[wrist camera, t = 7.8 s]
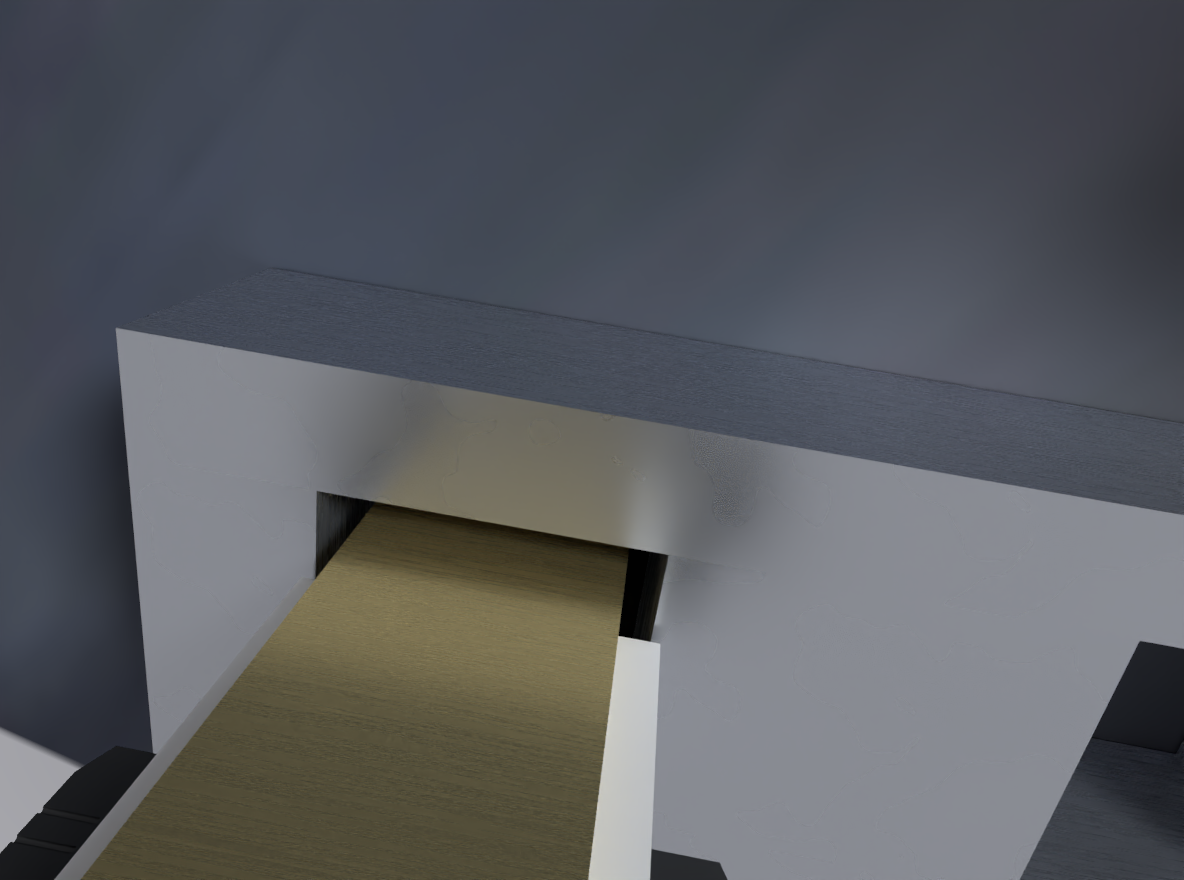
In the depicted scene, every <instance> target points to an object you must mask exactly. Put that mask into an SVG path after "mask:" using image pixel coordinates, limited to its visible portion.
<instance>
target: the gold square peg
mask: <svg viewBox="0 0 1184 880" xmlns="http://www.w3.org/2000/svg"><path fill="white" fill-rule="evenodd" d="M628 554H629V548H628V547H622V546H617V545H611V544H606V543H600V542H595V541H589V540H584V539H578V538H573V537H567V536H562V535H556V534H551V533H545V532H540V531H534V530H529V529H523V528H518V527H512V526H507V525H501V524H496V523H490V522H485V521H479V520H474V519H468V518H463V517H457V516H452V515H446V514H441V513H435V512H430V511H424V510H419V509H413V508H408V507H402V506H397V505H391V504H386V503H380V502H375V504H374V505H373V506H372V508H371V509H370V510H369V511H368V513H367V514H366V515H365V517H364V518H363V519H362V520H361V522H360V523H359V524H358V526H357V527H356V528H355V529H354V531H353V532H352V533H351V534H350V536H349V537H348V538H347V540H346V541H345V542H344V543H343V545H342V546H341V547H340V549H339V550H338V551H337V552H336V554H335V555H334V556H333V557H332V559H331V560H330V561H329V563H328V564H327V565H326V566H325V568H324V569H323V570H322V572H321V573H320V574H319V575H318V577H317V578H316V579H315V580H314V582H313V583H312V584H311V586H310V587H309V588H308V589H307V591H306V592H305V593H304V595H303V596H302V597H301V598H300V600H299V601H298V602H297V603H296V605H295V606H294V607H293V609H292V610H291V611H290V612H289V614H288V615H287V616H286V618H285V619H284V620H283V621H282V623H281V624H280V625H279V627H278V628H277V629H276V630H275V632H274V633H273V634H272V635H271V637H270V638H269V639H268V641H267V642H266V643H265V644H264V646H263V647H262V648H261V650H260V651H259V652H258V653H257V655H256V656H255V657H254V658H253V660H252V661H251V662H250V664H249V665H248V666H247V667H246V669H245V670H244V671H243V673H242V674H241V675H240V676H239V678H238V679H237V680H236V681H235V683H234V684H233V685H232V687H231V688H230V689H229V690H228V692H227V693H226V694H225V696H224V697H223V698H222V699H221V701H220V702H219V703H218V704H217V706H216V707H215V708H214V710H213V711H212V712H211V713H210V715H209V716H208V717H207V719H206V720H205V721H204V722H203V724H202V725H201V726H200V727H199V729H198V730H197V731H196V733H195V734H194V735H193V736H192V738H191V739H190V740H189V742H188V743H187V744H186V745H185V747H184V748H183V749H182V751H181V752H180V753H179V754H178V756H177V757H176V758H175V759H174V761H173V762H172V763H171V765H170V766H169V767H168V768H167V770H166V771H165V772H164V774H163V775H162V776H161V777H160V779H159V780H158V781H157V782H156V784H155V785H154V786H153V788H152V789H151V790H150V791H149V793H148V794H147V795H146V797H145V798H144V799H143V800H142V802H141V803H140V804H139V805H138V807H137V808H136V809H135V811H134V812H133V813H132V814H131V816H130V817H129V818H128V820H127V821H126V822H125V823H124V825H123V826H122V827H121V828H120V830H119V831H118V832H117V834H116V835H115V836H114V837H113V839H112V840H111V841H110V843H109V844H108V845H107V846H106V848H105V849H104V850H103V851H102V853H101V854H100V855H99V857H98V858H97V859H96V860H95V862H94V863H93V864H92V866H91V867H90V868H89V869H88V871H87V872H86V873H85V875H84V876H83V877H82V878H81V880H588V877H589V869H590V861H591V852H592V844H593V836H594V828H595V820H596V812H597V804H598V796H599V788H600V780H601V772H602V764H603V756H604V748H605V740H606V732H607V724H608V715H609V707H610V699H611V691H612V683H613V675H614V667H615V659H616V651H617V643H618V635H619V627H620V619H621V611H622V603H623V595H624V587H625V579H626V570H627V562H628Z"/></svg>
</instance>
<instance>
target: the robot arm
mask: <svg viewBox="0 0 1184 880" xmlns="http://www.w3.org/2000/svg"><path fill="white" fill-rule="evenodd" d="M314 580H315V579H310V578H305V577H301V578H300V579H299V580H298V582H297V583H296V584H295V585H294V586H293V588H292V589H291V590H290V591H289V593H288V594H287V595H286V596H285V598H284V599H283V600H282V601H281V602H280V604H279V605H278V606H277V607H276V609H275V610H274V611H273V612H272V613H271V615H270V616H269V617H268V618H267V620H266V621H265V622H264V623H263V624H262V626H261V627H260V628H259V629H258V631H257V632H256V633H255V634H254V636H253V637H252V638H251V639H250V640H249V642H248V643H247V644H246V645H245V647H244V648H243V649H242V650H241V651H240V653H239V654H238V655H237V656H236V658H235V659H234V660H233V661H232V662H231V664H230V665H229V666H228V667H227V669H226V670H225V671H224V672H223V674H222V675H221V676H220V677H219V678H218V680H217V681H216V682H215V683H214V685H213V686H212V687H211V688H210V689H209V691H208V692H207V693H206V694H205V696H204V697H203V698H202V699H201V700H200V702H199V703H198V704H197V705H196V707H195V708H194V709H193V710H192V712H191V713H190V714H189V715H188V716H187V718H186V719H185V720H184V721H183V723H182V724H181V725H180V726H179V727H178V729H177V730H176V731H175V732H174V734H173V735H172V736H171V737H170V738H169V740H168V741H167V742H166V743H165V745H164V746H163V747H162V748H161V750H160V751H159V752H158V753H157V754H155V753H149V752H144V751H139V750H134V749H129V748H124V747H119V746H115V747H114V748H112V749H111V750H109V751H107V752H106V753H104V754H103V755H101V756H100V757H98V758H96V759H95V760H93V761H92V762H90V763H88V764H87V765H85V766H84V767H82V768H81V769H79V770H77V771H76V772H74V774H73V775H72V776H71V777H70V778H69V779H68V780H67V781H66V782H65V783H64V784H63V786H62V787H61V788H60V789H59V790H58V791H57V792H56V793H55V794H54V795H53V796H52V797H51V799H50V800H49V801H48V802H47V803H46V804H45V805H44V807H43V811H42V812H41V813H37V814H36V815H35V816H34V817H33V818H32V819H31V821H29V823H28V824H27V825H26V826H25V827H24V828H23V829H22V830H21V831H20V832H19V834H18V835H17V839H16V840H15V842H14V843H13V842H10V843H9V844H8V846H7V847H6V848H5V849H4V850H3V851H2V852H1V853H0V880H81V878H82V877H83V876H84V875H85V873H86V872H87V871H88V869H89V868H90V867H91V866H92V864H93V863H94V862H95V860H96V859H97V858H98V857H99V855H100V854H101V853H102V851H103V850H104V849H105V848H106V846H107V845H108V844H109V843H110V841H111V840H112V839H113V837H114V836H115V835H116V834H117V832H118V831H119V830H120V828H121V827H122V826H123V825H124V823H125V822H126V821H127V820H128V818H129V817H130V816H131V814H132V813H133V812H134V811H135V809H136V808H137V807H138V805H139V804H140V803H141V802H142V800H143V799H144V798H145V797H146V795H147V794H148V793H149V791H150V790H151V789H152V788H153V786H154V785H155V784H156V782H157V781H158V780H159V779H160V777H161V776H162V775H163V774H164V772H165V771H166V770H167V768H168V767H169V766H170V765H171V763H172V762H173V761H174V759H175V758H176V757H177V756H178V754H179V753H180V752H181V751H182V749H183V748H184V747H185V745H186V744H187V743H188V742H189V740H190V739H191V738H192V736H193V735H194V734H195V733H196V731H197V730H198V729H199V727H200V726H201V725H202V724H203V722H204V721H205V720H206V719H207V717H208V716H209V715H210V713H211V712H212V711H213V710H214V708H215V707H216V706H217V704H218V703H219V702H220V701H221V699H222V698H223V697H224V696H225V694H226V693H227V692H228V690H229V689H230V688H231V687H232V685H233V684H234V683H235V681H236V680H237V679H238V678H239V676H240V675H241V674H242V673H243V671H244V670H245V669H246V667H247V666H248V665H249V664H250V662H251V661H252V660H253V658H254V657H255V656H256V655H257V653H258V652H259V651H260V650H261V648H262V647H263V646H264V644H265V643H266V642H267V641H268V639H269V638H270V637H271V635H272V634H273V633H274V632H275V630H276V629H277V628H278V627H279V625H280V624H281V623H282V621H283V620H284V619H285V618H286V616H287V615H288V614H289V612H290V611H291V610H292V609H293V607H294V606H295V605H296V603H297V602H298V601H299V600H300V598H301V597H302V596H303V595H304V593H305V592H306V591H307V589H308V588H309V587H310V586H311V584H312V583H313V582H314ZM659 666H660V644H659V643H653V642H648V641H643V640H637V639H632V638H627V637H621V636H618V643H617V651H616V659H615V667H614V675H613V683H612V691H611V699H610V707H609V715H608V724H607V732H606V740H605V748H604V756H603V764H602V772H601V780H600V788H599V796H598V804H597V812H596V820H595V828H594V836H593V844H592V852H591V861H590V869H589V877H588V880H728V879H727V877H726V875H725V873H724V871H723V869H722V867H721V864H720V862H715V861H710V860H705V859H700V858H695V857H690V856H685V855H679V854H674V853H669V852H664V851H659V850H654V849H651V845H652V823H653V800H654V778H655V755H656V733H657V711H658V688H659Z"/></svg>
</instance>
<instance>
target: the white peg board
mask: <svg viewBox="0 0 1184 880" xmlns="http://www.w3.org/2000/svg"><path fill="white" fill-rule="evenodd" d="M116 335H117V346H118V358H119V369H120V381H121V392H122V403H123V415H124V426H125V437H126V449H127V460H128V472H129V483H130V494H131V506H132V517H133V529H134V540H135V551H136V563H137V574H138V585H139V597H140V608H141V620H142V631H143V642H144V654H145V665H146V676H147V688H148V699H149V711H150V722H151V733H152V745H153V753H155V754H157V753H158V752H159V751H160V750H161V748H162V747H163V746H164V745H165V743H166V742H167V741H168V740H169V738H170V737H171V736H172V735H173V734H174V732H175V731H176V730H177V729H178V727H179V726H180V725H181V724H182V723H183V721H184V720H185V719H186V718H187V716H188V715H189V714H190V713H191V712H192V710H193V709H194V708H195V707H196V705H197V704H198V703H199V702H200V700H201V699H202V698H203V697H204V696H205V694H206V693H207V692H208V691H209V689H210V688H211V687H212V686H213V685H214V683H215V682H216V681H217V680H218V678H219V677H220V676H221V675H222V674H223V672H224V671H225V670H226V669H227V667H228V666H229V665H230V664H231V662H232V661H233V660H234V659H235V658H236V656H237V655H238V654H239V653H240V651H241V650H242V649H243V648H244V647H245V645H246V644H247V643H248V642H249V640H250V639H251V638H252V637H253V636H254V634H255V633H256V632H257V631H258V629H259V628H260V627H261V626H262V624H263V623H264V622H265V621H266V620H267V618H268V617H269V616H270V615H271V613H272V612H273V611H274V610H275V609H276V607H277V606H278V605H279V604H280V602H281V601H282V600H283V599H284V598H285V596H286V595H287V594H288V593H289V591H290V590H291V589H292V588H293V586H294V585H295V584H296V583H297V582H298V580H299V579H300V578H301V577H305V578H310V579H316V578H317V577H318V575H319V574H320V573H321V572H322V570H323V569H324V568H325V566H326V565H327V564H328V563H329V561H330V560H331V559H332V557H333V556H334V555H335V554H336V552H337V551H338V550H339V549H340V547H341V546H342V545H343V543H344V542H345V541H346V540H347V538H348V537H349V536H350V534H351V533H352V532H353V531H354V529H355V528H356V527H357V526H358V524H359V523H360V522H361V520H362V519H363V518H364V517H365V515H366V514H367V513H368V511H369V510H370V509H371V508H372V506H373V505H374V504H375V502H380V503H386V504H391V505H397V506H402V507H408V508H413V509H419V510H424V511H430V512H435V513H441V514H446V515H452V516H457V517H463V518H468V519H474V520H479V521H485V522H490V523H496V524H501V525H507V526H512V527H518V528H523V529H529V530H534V531H540V532H545V533H551V534H556V535H562V536H567V537H573V538H578V539H584V540H589V541H595V542H600V543H606V544H611V545H617V546H622V547H628V548H633V549H639V550H644V551H650V553H649V558H648V563H647V568H646V573H645V578H644V583H643V588H642V593H641V598H640V603H639V608H638V613H637V618H636V623H635V628H634V633H633V638H632V639H637V640H643V641H648V642H653V643H659V644H660V666H659V688H658V711H657V733H656V755H655V778H654V800H653V823H652V845H651V849H654V850H659V851H664V852H669V853H674V854H679V855H685V856H690V857H695V858H700V859H705V860H710V861H715V862H720V864H721V867H722V869H723V871H724V873H725V875H726V877H727V879H728V880H1184V740H1183V742H1182V744H1181V746H1180V747H1179V749H1178V751H1177V753H1176V754H1174V753H1169V752H1164V751H1158V750H1153V749H1148V748H1142V747H1137V746H1132V745H1126V744H1121V743H1116V742H1110V741H1105V740H1100V739H1094V738H1091V737H1092V735H1093V733H1094V731H1095V729H1096V727H1097V725H1098V723H1099V721H1100V719H1101V717H1102V715H1103V713H1104V711H1105V709H1106V707H1107V705H1108V703H1109V701H1110V699H1111V697H1112V695H1113V693H1114V691H1115V689H1116V687H1117V685H1118V683H1119V681H1120V679H1121V677H1122V675H1123V673H1124V671H1125V669H1126V667H1127V665H1128V663H1129V661H1130V659H1131V657H1132V655H1133V653H1134V651H1135V649H1136V647H1137V645H1138V643H1139V641H1144V642H1150V643H1155V644H1161V645H1166V646H1172V647H1177V648H1183V649H1184V424H1183V423H1177V422H1171V421H1166V420H1160V419H1154V418H1148V417H1142V416H1136V415H1130V414H1125V413H1119V412H1113V411H1107V410H1101V409H1095V408H1089V407H1084V406H1078V405H1072V404H1066V403H1060V402H1054V401H1048V400H1043V399H1037V398H1031V397H1025V396H1019V395H1013V394H1007V393H1002V392H996V391H990V390H984V389H978V388H972V387H967V386H961V385H955V384H949V383H943V382H937V381H931V380H926V379H920V378H914V377H908V376H902V375H896V374H890V373H885V372H879V371H873V370H867V369H861V368H855V367H849V366H844V365H838V364H832V363H826V362H820V361H814V360H808V359H803V358H797V357H791V356H785V355H779V354H773V353H767V352H762V351H756V350H750V349H744V348H738V347H732V346H726V345H721V344H715V343H709V342H703V341H697V340H691V339H685V338H680V337H674V336H668V335H662V334H656V333H650V332H644V331H639V330H633V329H627V328H621V327H615V326H609V325H603V324H598V323H592V322H586V321H580V320H574V319H568V318H563V317H557V316H551V315H545V314H539V313H533V312H527V311H522V310H516V309H510V308H504V307H498V306H492V305H486V304H481V303H475V302H469V301H463V300H457V299H451V298H445V297H440V296H434V295H428V294H422V293H416V292H410V291H404V290H399V289H393V288H387V287H381V286H375V285H369V284H363V283H358V282H352V281H346V280H340V279H334V278H328V277H322V276H317V275H311V274H305V273H299V272H293V271H287V270H281V269H276V268H269V269H267V270H264V271H262V272H259V273H257V274H254V275H251V276H249V277H246V278H244V279H241V280H238V281H236V282H233V283H231V284H228V285H226V286H223V287H220V288H218V289H215V290H213V291H210V292H208V293H205V294H202V295H200V296H197V297H195V298H192V299H189V300H187V301H184V302H182V303H179V304H177V305H174V306H171V307H169V308H166V309H164V310H161V311H159V312H156V313H153V314H151V315H148V316H146V317H143V318H140V319H138V320H135V321H133V322H130V323H128V324H125V325H122V326H120V327H117V328H116Z"/></svg>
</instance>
